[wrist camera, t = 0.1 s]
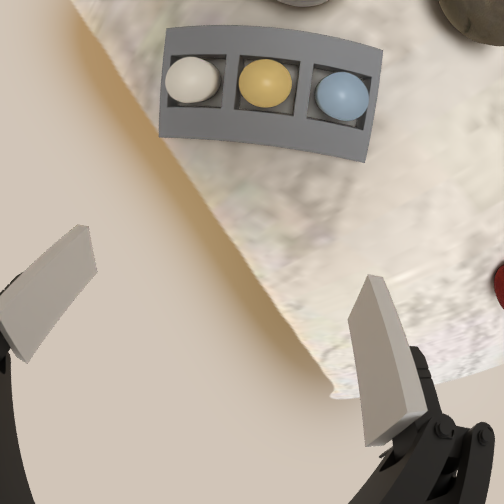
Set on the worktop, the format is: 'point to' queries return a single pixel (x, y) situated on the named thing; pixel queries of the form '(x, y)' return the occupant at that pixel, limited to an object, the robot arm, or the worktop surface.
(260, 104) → the button ochre
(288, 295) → the worktop surface
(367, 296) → the robot arm
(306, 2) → the teacup
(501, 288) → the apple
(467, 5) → the smooth brown stone
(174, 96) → the button ivory
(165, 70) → the three ball holder
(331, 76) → the button blue
